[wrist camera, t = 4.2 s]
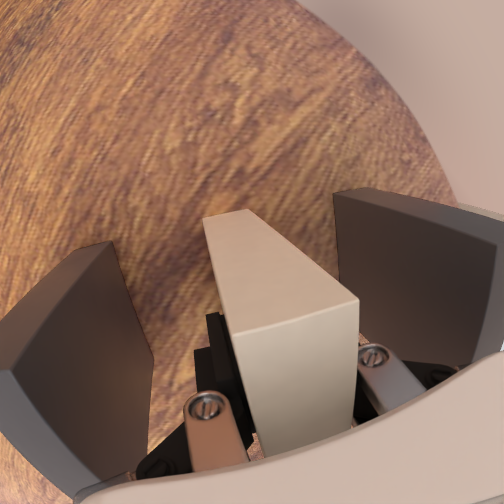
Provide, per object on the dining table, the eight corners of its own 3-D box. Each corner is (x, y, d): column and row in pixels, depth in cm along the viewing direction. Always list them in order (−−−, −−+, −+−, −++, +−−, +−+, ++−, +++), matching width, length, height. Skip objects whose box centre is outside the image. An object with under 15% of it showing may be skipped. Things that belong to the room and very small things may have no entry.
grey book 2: (112, 239, 14) (9, 371, 4) (154, 359, 17) (148, 518, 7) (73, 250, 14) (-44, 372, 4) (120, 365, 17) (94, 516, 6)
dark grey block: (367, 187, 17) (528, 229, 6) (370, 302, 19) (481, 397, 9) (332, 193, 16) (497, 245, 6) (340, 312, 19) (446, 423, 9)
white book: (248, 208, 16) (360, 298, 5) (269, 333, 18) (343, 479, 8) (201, 218, 15) (230, 335, 5) (230, 343, 18) (278, 501, 8)
